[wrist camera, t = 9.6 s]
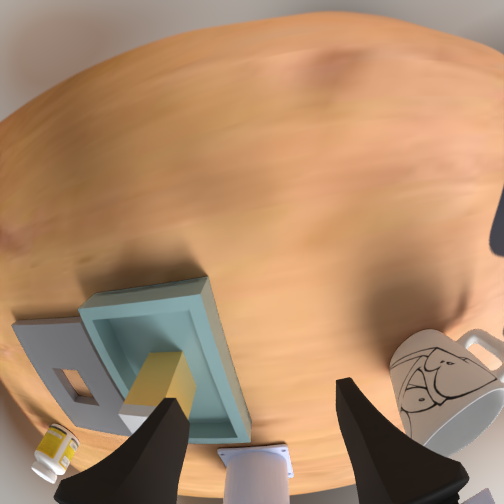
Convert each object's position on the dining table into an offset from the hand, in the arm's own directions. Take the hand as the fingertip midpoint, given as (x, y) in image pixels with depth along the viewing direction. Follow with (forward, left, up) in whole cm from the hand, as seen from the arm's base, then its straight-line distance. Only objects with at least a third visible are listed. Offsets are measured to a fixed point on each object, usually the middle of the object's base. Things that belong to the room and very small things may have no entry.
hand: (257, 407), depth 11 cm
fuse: (-5, +8, -9) cm, 13 cm away
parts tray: (-5, +8, -9) cm, 13 cm away
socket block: (-7, +21, -9) cm, 24 cm away
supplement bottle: (-20, +34, -10) cm, 41 cm away
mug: (-8, -15, -10) cm, 20 cm away
